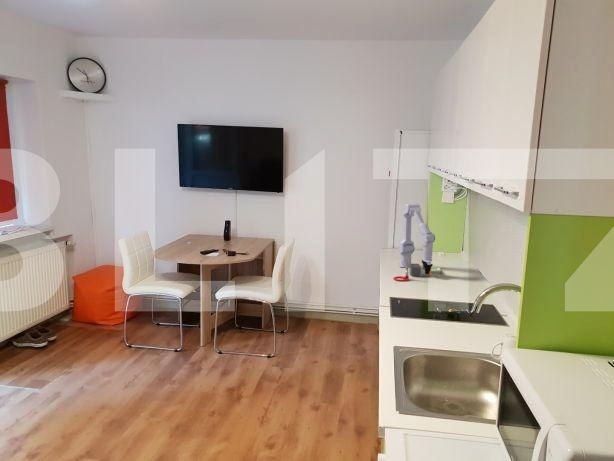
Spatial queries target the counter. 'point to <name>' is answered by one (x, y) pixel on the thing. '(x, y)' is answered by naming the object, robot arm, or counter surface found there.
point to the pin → (421, 272)
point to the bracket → (416, 270)
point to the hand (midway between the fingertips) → (426, 273)
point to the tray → (435, 270)
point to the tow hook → (402, 276)
